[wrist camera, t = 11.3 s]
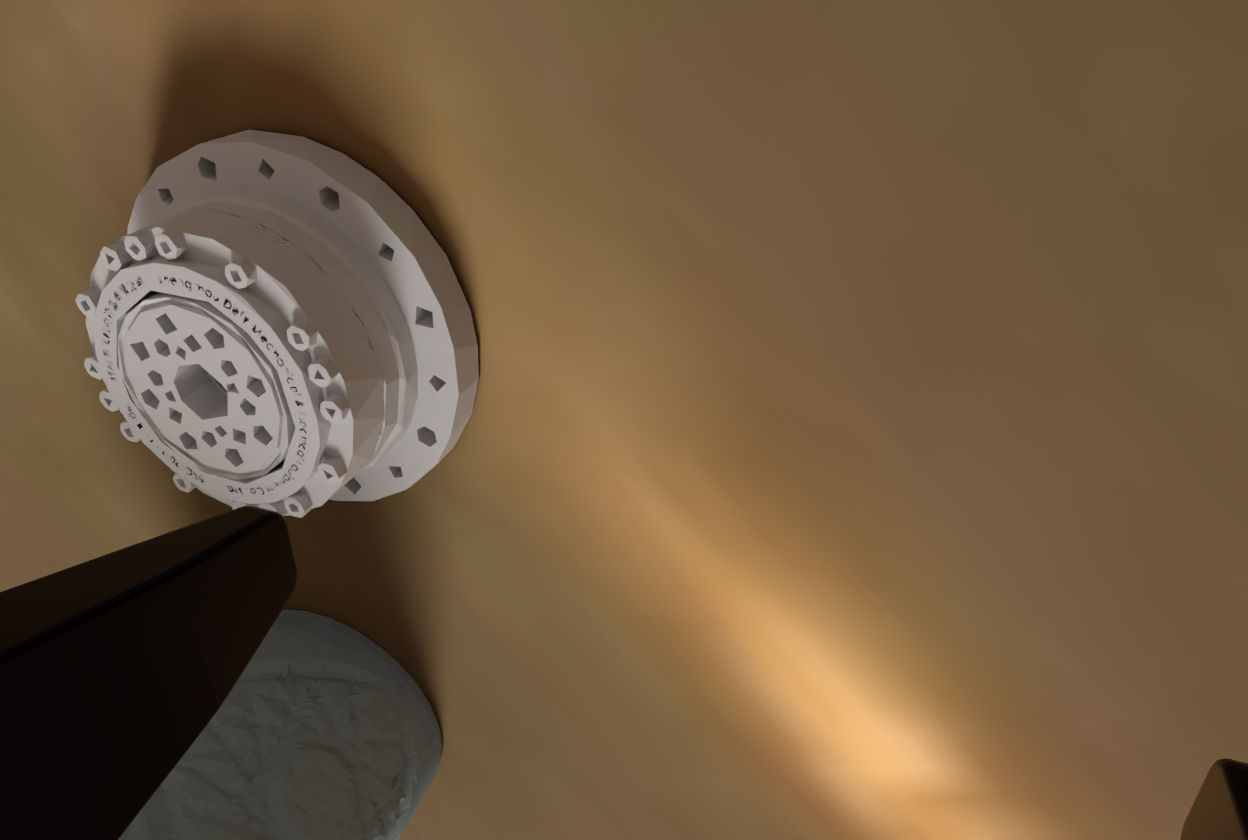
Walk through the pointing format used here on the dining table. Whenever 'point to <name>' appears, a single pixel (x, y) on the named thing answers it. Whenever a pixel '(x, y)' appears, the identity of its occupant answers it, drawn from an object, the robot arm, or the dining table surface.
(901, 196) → the dining table surface
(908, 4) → the dining table surface
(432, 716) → the blue-grey cup
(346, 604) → the dining table surface
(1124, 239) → the dining table surface
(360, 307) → the mechanical component
